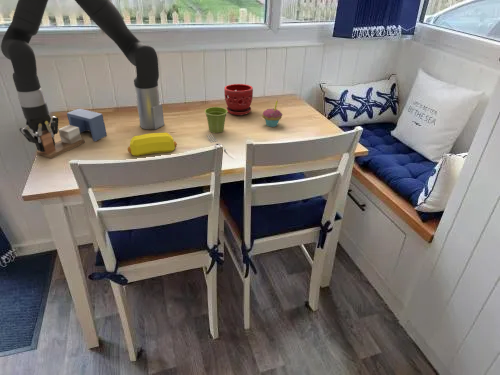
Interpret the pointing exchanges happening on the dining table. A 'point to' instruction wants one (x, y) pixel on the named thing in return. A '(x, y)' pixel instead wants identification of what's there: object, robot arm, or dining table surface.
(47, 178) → the dining table surface
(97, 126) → the tunnel
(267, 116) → the cupcake
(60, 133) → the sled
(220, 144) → the fork
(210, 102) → the dining table surface
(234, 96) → the plant pot
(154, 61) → the robot arm
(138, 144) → the hot dog
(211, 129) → the plant pot
